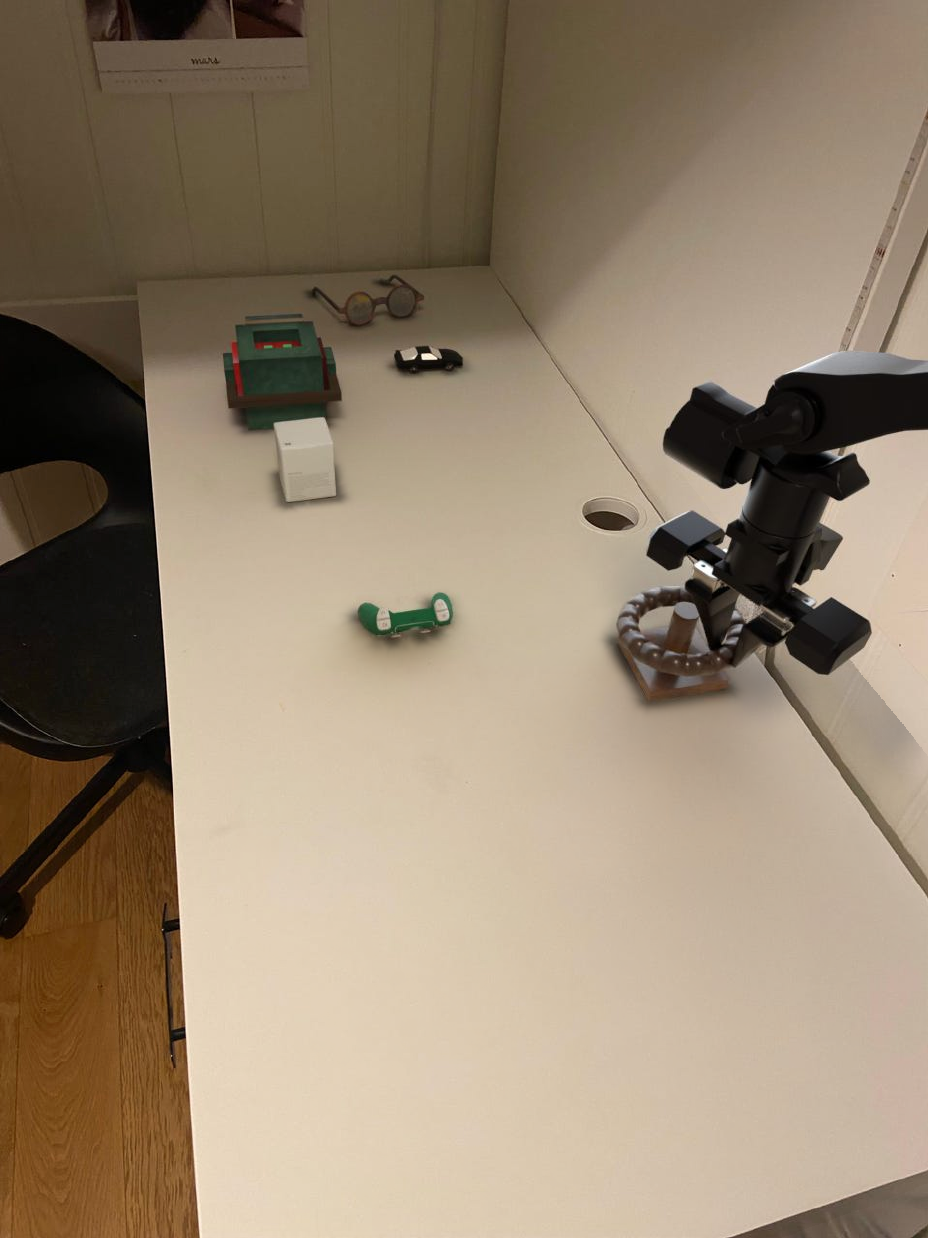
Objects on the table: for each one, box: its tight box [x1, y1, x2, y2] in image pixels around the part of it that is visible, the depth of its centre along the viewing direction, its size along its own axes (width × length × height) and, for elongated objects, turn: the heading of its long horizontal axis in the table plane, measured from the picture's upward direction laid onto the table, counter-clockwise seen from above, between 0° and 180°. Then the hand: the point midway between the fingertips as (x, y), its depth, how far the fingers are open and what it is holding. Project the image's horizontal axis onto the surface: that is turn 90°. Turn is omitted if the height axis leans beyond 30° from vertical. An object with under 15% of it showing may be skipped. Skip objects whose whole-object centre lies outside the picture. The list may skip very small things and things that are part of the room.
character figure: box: [222, 313, 343, 432], centre depth 112 cm, size 14×14×20 cm
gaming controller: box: [357, 591, 454, 639], centre depth 82 cm, size 9×4×6 cm
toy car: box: [393, 345, 464, 375], centre depth 123 cm, size 10×4×3 cm, turn 104°
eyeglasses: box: [311, 274, 425, 326], centre depth 137 cm, size 15×15×5 cm
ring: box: [615, 585, 747, 677], centre depth 78 cm, size 12×12×2 cm
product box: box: [273, 417, 337, 503], centre depth 98 cm, size 6×6×7 cm
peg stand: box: [616, 602, 730, 702], centre depth 79 cm, size 8×8×7 cm
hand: (725, 657), depth 75 cm, fingers closed on ring, 2 cm apart
